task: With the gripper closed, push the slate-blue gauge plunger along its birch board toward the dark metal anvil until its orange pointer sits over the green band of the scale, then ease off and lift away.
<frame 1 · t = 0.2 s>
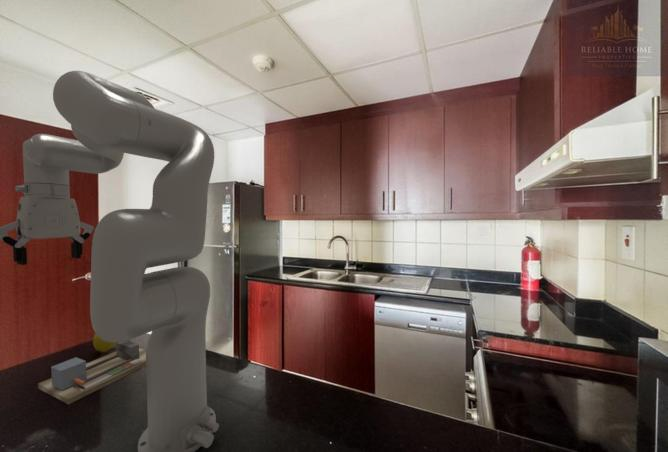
hand: (50, 260, 65), 30 cm above the countertop, tool pointing down, fingers open, 9 cm apart
plunger: (73, 374, 62), point 4 cm above the countertop, slide at 0.0 cm
gauge board: (104, 372, 69), on the countertop
beer glass: (175, 376, 67), on the countertop
lemon: (105, 352, 79), on the countertop
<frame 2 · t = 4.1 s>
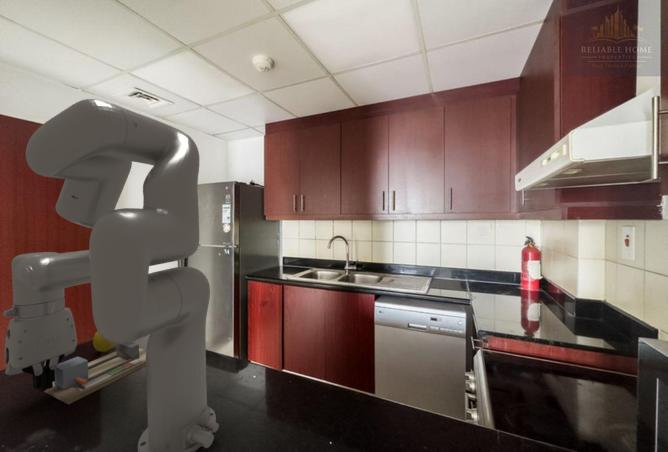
hand: (44, 388, 58), 3 cm above the countertop, tool pointing down, fingers closed
plunger: (75, 374, 62), point 4 cm above the countertop, slide at 0.4 cm, touching gripper
everything else where it was.
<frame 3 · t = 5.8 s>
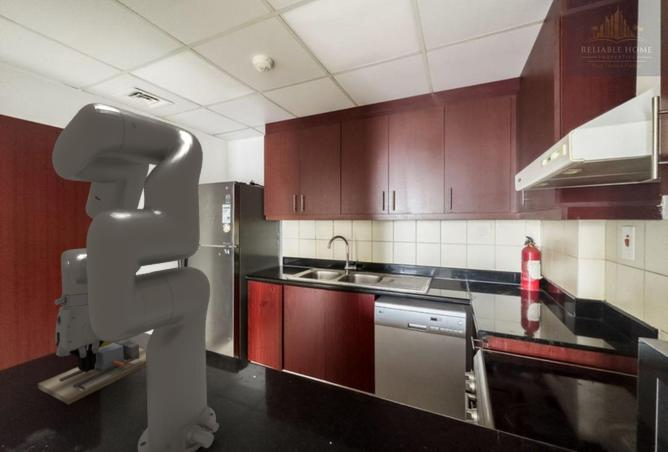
hand: (87, 369, 66), 3 cm above the countertop, tool pointing down, fingers closed
plunger: (113, 357, 69), point 4 cm above the countertop, slide at 8.0 cm, touching gripper
everything else where it was.
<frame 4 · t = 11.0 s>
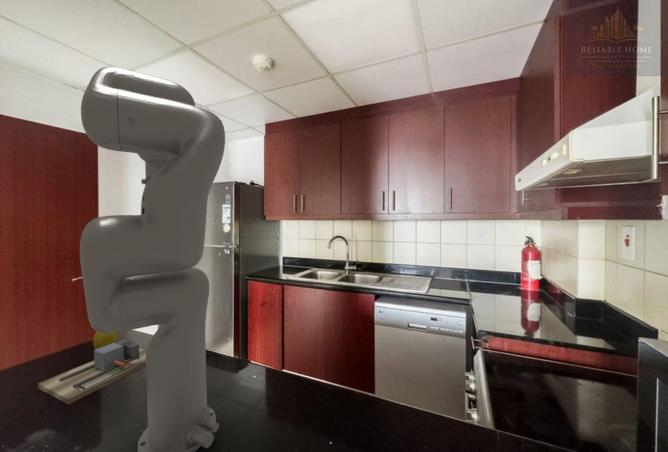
hand: (163, 247, 76), 32 cm above the countertop, tool pointing down, fingers closed
plunger: (113, 357, 69), point 4 cm above the countertop, slide at 8.1 cm
everything else where it was.
at the end: plunger slide at 8.1 cm; plunger touching nothing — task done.
